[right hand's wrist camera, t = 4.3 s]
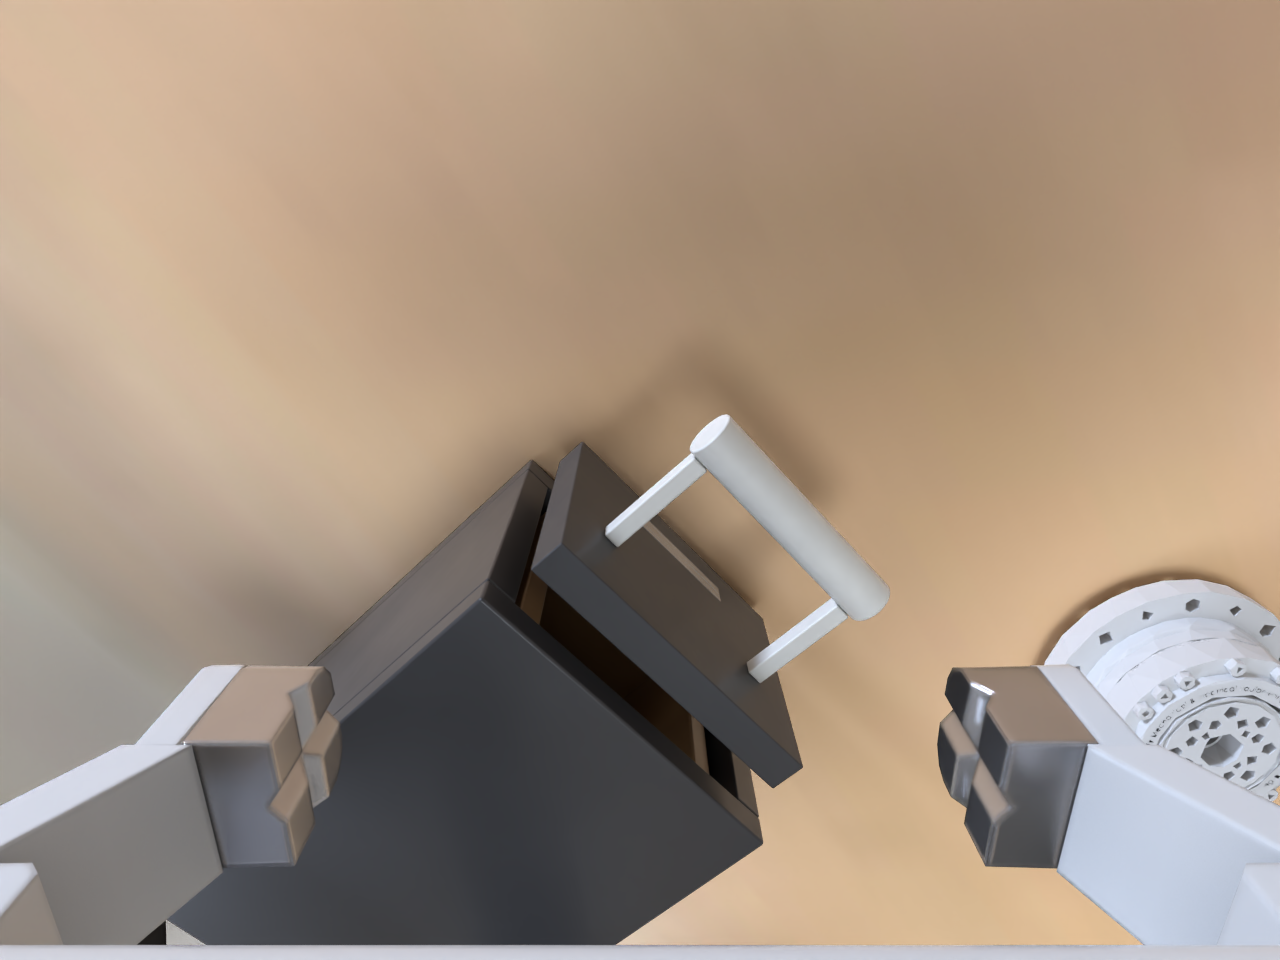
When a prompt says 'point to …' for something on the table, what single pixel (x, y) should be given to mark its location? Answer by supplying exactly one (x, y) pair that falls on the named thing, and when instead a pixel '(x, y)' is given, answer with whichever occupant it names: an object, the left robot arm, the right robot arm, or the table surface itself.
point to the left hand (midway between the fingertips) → (397, 828)
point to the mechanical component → (1189, 674)
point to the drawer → (687, 597)
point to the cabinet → (486, 778)
